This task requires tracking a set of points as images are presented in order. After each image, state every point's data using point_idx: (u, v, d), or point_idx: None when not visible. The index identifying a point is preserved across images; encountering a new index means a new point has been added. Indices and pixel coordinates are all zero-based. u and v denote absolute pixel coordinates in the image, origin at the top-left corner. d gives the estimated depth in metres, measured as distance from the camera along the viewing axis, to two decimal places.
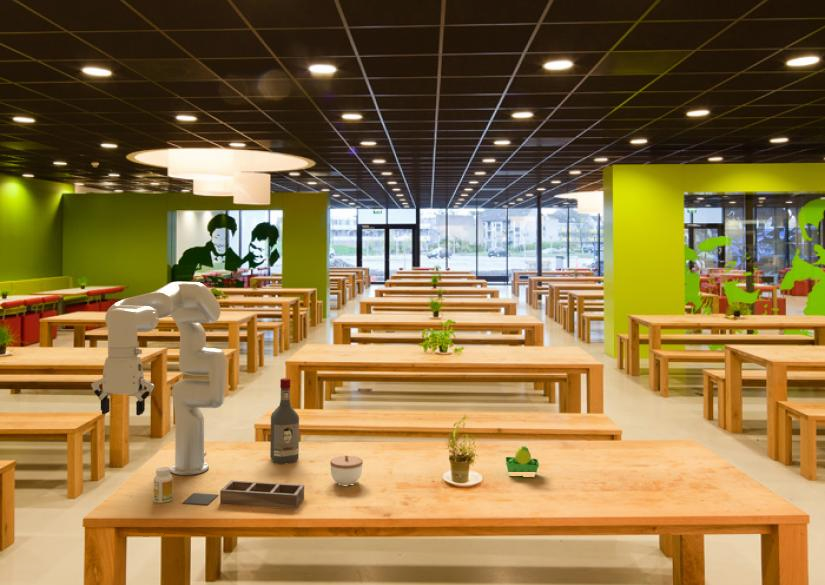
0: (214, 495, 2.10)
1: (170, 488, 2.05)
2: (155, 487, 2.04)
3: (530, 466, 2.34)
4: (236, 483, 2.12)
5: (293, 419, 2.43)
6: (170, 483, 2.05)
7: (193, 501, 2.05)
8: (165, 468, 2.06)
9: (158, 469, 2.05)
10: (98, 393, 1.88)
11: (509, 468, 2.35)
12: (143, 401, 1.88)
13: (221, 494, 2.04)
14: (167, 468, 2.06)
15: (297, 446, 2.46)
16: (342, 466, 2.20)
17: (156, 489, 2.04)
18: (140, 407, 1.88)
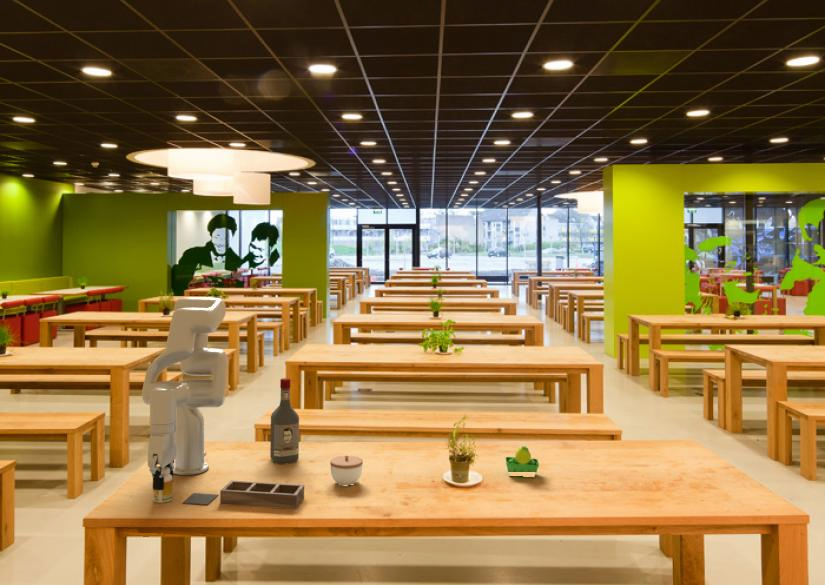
0: (214, 495, 2.10)
1: (170, 488, 2.05)
2: None
3: (530, 466, 2.34)
4: (236, 483, 2.12)
5: (293, 419, 2.43)
6: (170, 483, 2.05)
7: (193, 501, 2.05)
8: (165, 468, 2.06)
9: (158, 469, 2.05)
10: (158, 472, 2.01)
11: (509, 468, 2.35)
12: None
13: (221, 494, 2.04)
14: (167, 468, 2.06)
15: (297, 446, 2.46)
16: (342, 466, 2.20)
17: None
18: None
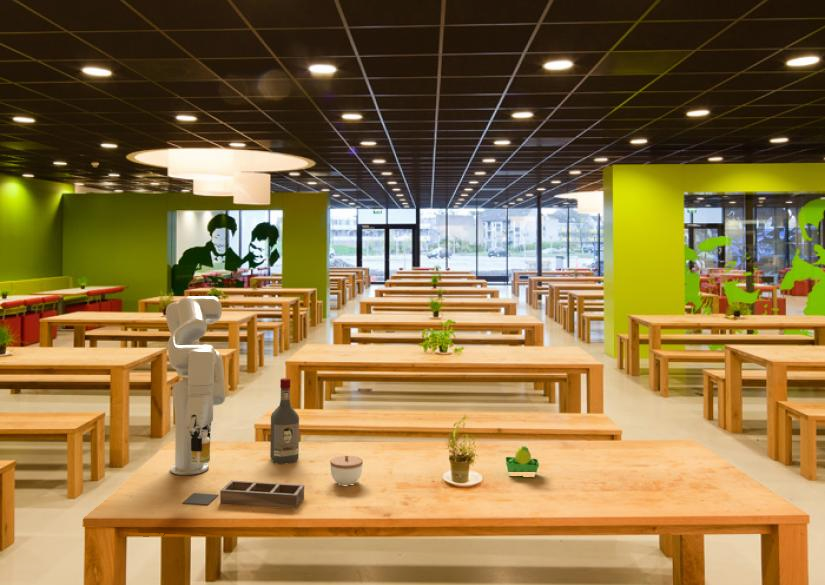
0: (214, 495, 2.10)
1: (208, 450, 2.06)
2: None
3: (530, 466, 2.34)
4: (236, 483, 2.12)
5: (293, 419, 2.43)
6: (208, 445, 2.05)
7: (193, 501, 2.05)
8: (203, 430, 2.06)
9: None
10: (196, 434, 2.01)
11: (509, 468, 2.35)
12: None
13: (221, 494, 2.04)
14: (205, 430, 2.06)
15: (297, 446, 2.46)
16: (342, 466, 2.20)
17: None
18: None
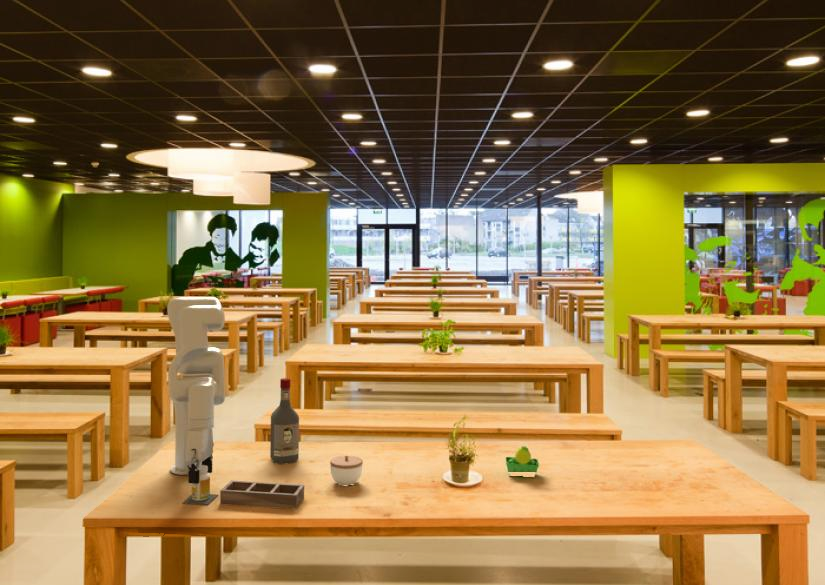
0: (214, 495, 2.10)
1: (208, 486, 2.07)
2: (193, 485, 2.05)
3: (530, 466, 2.34)
4: (236, 483, 2.12)
5: (293, 419, 2.43)
6: (208, 481, 2.06)
7: (193, 501, 2.05)
8: (203, 466, 2.08)
9: None
10: (194, 466, 2.00)
11: (509, 468, 2.35)
12: None
13: (221, 494, 2.04)
14: (205, 466, 2.08)
15: (297, 446, 2.46)
16: (342, 466, 2.20)
17: (194, 487, 2.05)
18: None
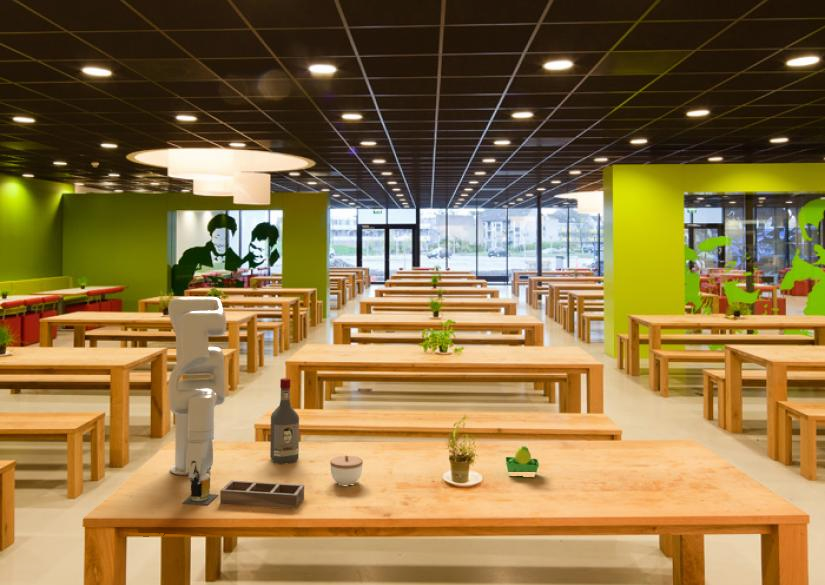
0: (214, 495, 2.10)
1: (207, 486, 2.06)
2: None
3: (530, 466, 2.34)
4: (236, 483, 2.12)
5: (293, 419, 2.43)
6: (207, 481, 2.06)
7: (193, 501, 2.05)
8: None
9: None
10: (196, 479, 2.02)
11: (509, 468, 2.35)
12: None
13: (221, 494, 2.04)
14: None
15: (297, 446, 2.46)
16: (342, 466, 2.20)
17: None
18: None
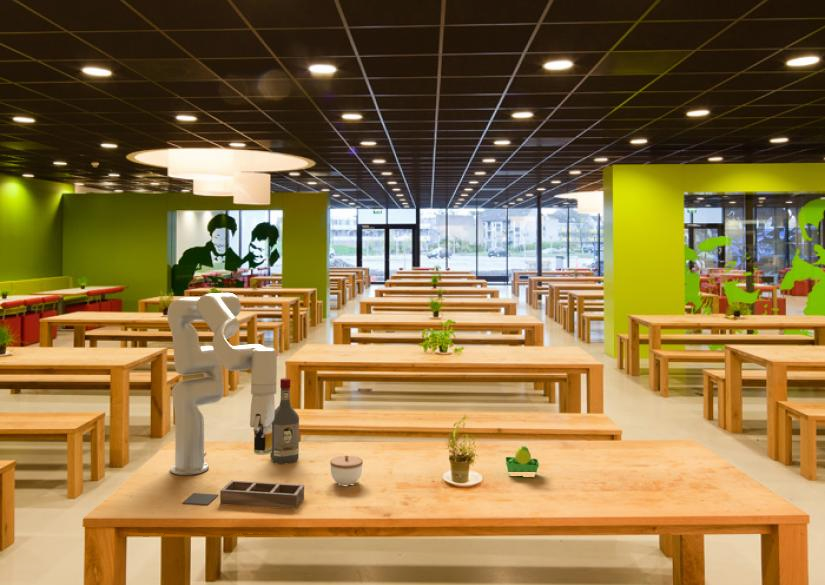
0: (214, 495, 2.10)
1: (270, 440, 2.06)
2: None
3: (530, 466, 2.34)
4: (236, 483, 2.12)
5: (293, 419, 2.43)
6: (270, 435, 2.05)
7: (193, 501, 2.05)
8: None
9: None
10: (260, 433, 2.01)
11: (509, 468, 2.35)
12: None
13: (221, 494, 2.04)
14: None
15: (297, 446, 2.46)
16: (342, 466, 2.20)
17: None
18: None
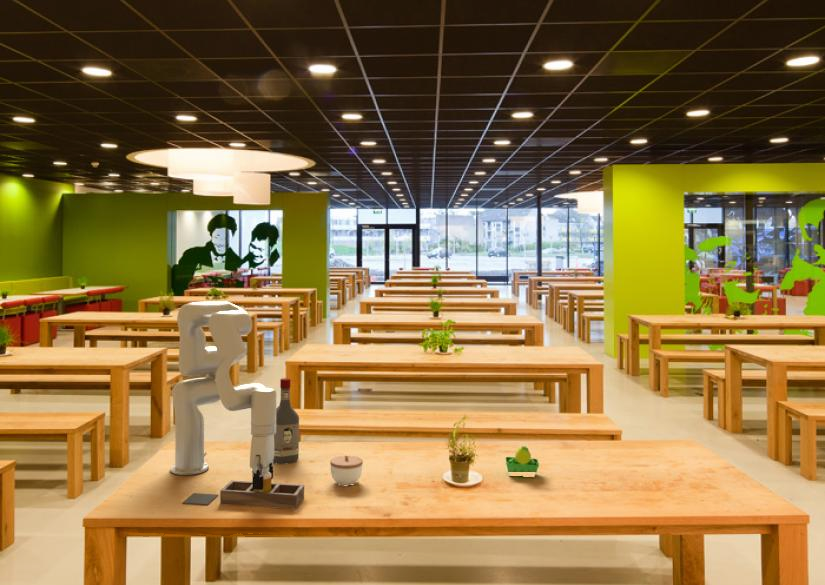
0: (214, 495, 2.10)
1: (270, 485, 2.07)
2: None
3: (530, 466, 2.34)
4: (236, 483, 2.12)
5: (293, 419, 2.43)
6: (270, 480, 2.06)
7: (193, 501, 2.05)
8: None
9: None
10: (258, 472, 2.00)
11: (509, 468, 2.35)
12: None
13: (221, 494, 2.04)
14: None
15: (297, 446, 2.46)
16: (342, 466, 2.20)
17: None
18: None
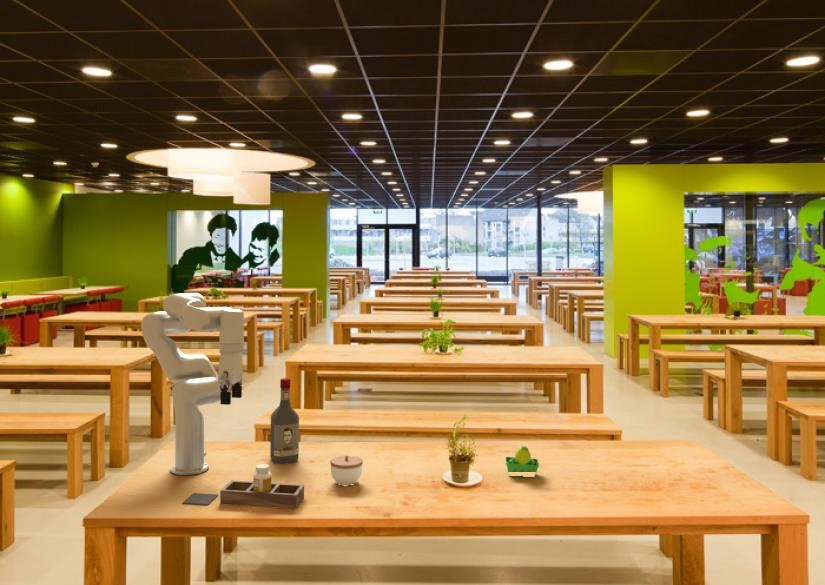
0: (214, 495, 2.10)
1: (270, 485, 2.07)
2: (255, 484, 2.05)
3: (530, 466, 2.34)
4: (236, 483, 2.12)
5: (293, 419, 2.43)
6: (270, 480, 2.06)
7: (193, 501, 2.05)
8: (264, 465, 2.07)
9: (258, 466, 2.06)
10: (226, 387, 2.10)
11: (509, 468, 2.35)
12: None
13: (221, 494, 2.04)
14: (266, 465, 2.07)
15: (297, 446, 2.46)
16: (342, 466, 2.20)
17: (257, 486, 2.05)
18: None
